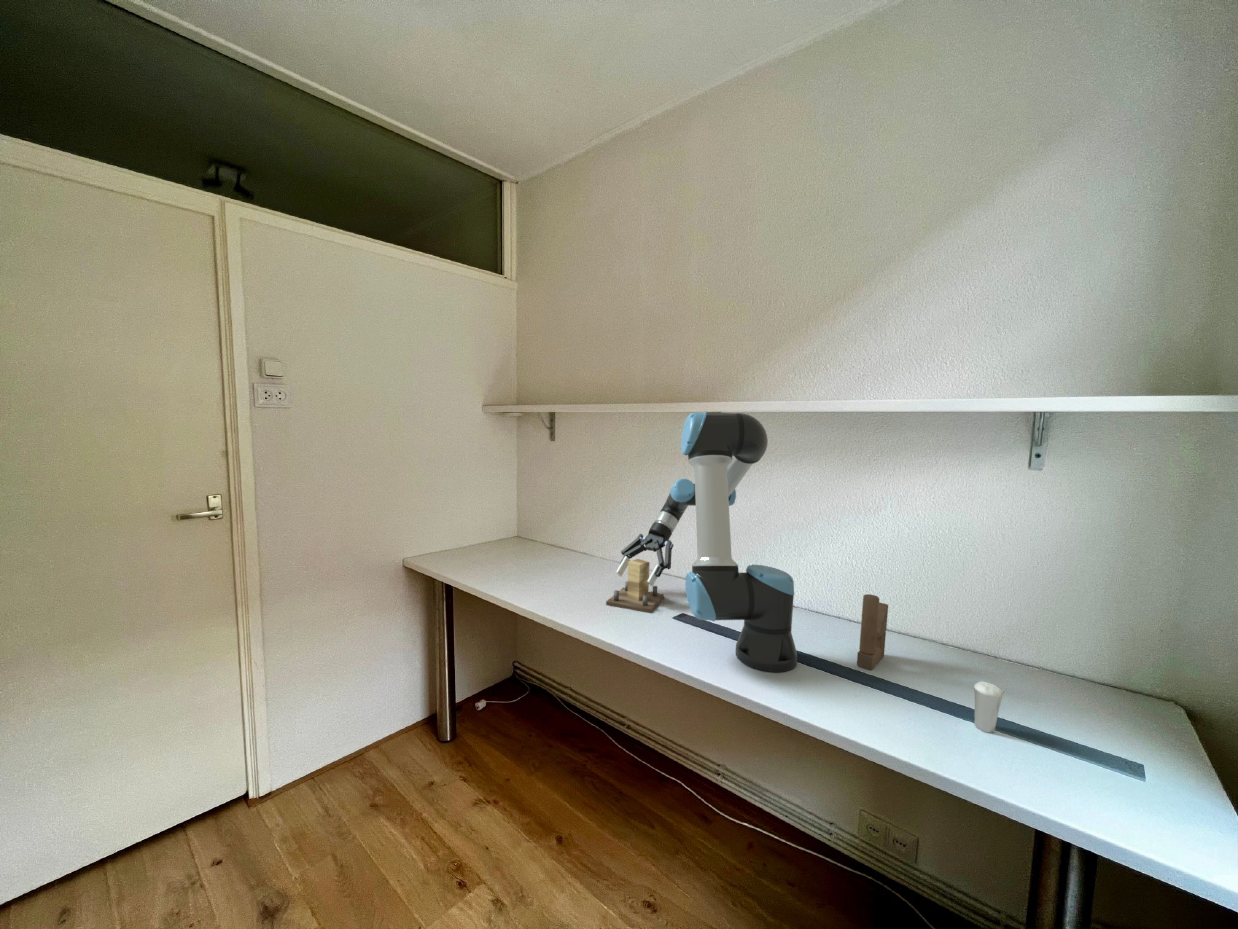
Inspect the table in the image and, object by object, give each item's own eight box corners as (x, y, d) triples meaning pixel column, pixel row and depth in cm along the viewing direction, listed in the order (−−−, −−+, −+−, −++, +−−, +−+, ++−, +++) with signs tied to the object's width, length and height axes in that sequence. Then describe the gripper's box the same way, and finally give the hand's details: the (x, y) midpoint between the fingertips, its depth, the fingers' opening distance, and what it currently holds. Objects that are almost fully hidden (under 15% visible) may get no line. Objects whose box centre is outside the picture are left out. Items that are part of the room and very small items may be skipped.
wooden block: (884, 657, 128) (889, 590, 127) (871, 671, 120) (877, 600, 119) (869, 652, 131) (874, 586, 129) (856, 666, 123) (861, 596, 121)
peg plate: (649, 612, 153) (650, 599, 153) (606, 604, 159) (606, 592, 159) (663, 597, 167) (664, 585, 167) (623, 590, 173) (623, 579, 172)
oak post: (638, 600, 160) (639, 565, 159) (627, 596, 164) (628, 561, 163) (648, 597, 164) (649, 562, 163) (637, 593, 167) (638, 558, 166)
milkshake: (994, 740, 95) (999, 690, 94) (965, 724, 100) (970, 677, 99) (1008, 734, 97) (1013, 686, 96) (979, 719, 102) (983, 673, 101)
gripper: (696, 540, 165) (668, 594, 155) (640, 528, 182) (611, 576, 172) (688, 527, 161) (659, 582, 151) (631, 515, 177) (601, 564, 168)
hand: (633, 579), depth 161 cm, fingers open, 13 cm apart
